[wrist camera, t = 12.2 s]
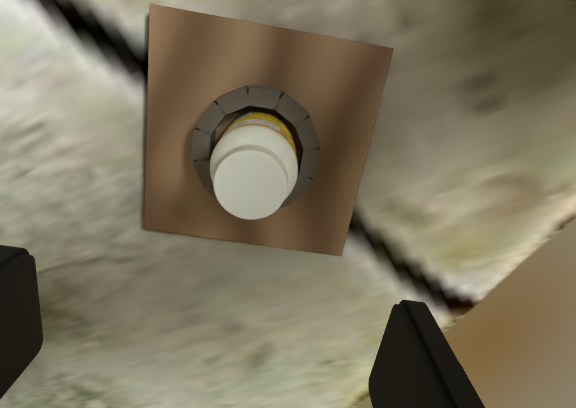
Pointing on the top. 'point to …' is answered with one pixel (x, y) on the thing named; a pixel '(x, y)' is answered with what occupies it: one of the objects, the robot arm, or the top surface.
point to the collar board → (250, 97)
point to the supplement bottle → (254, 165)
